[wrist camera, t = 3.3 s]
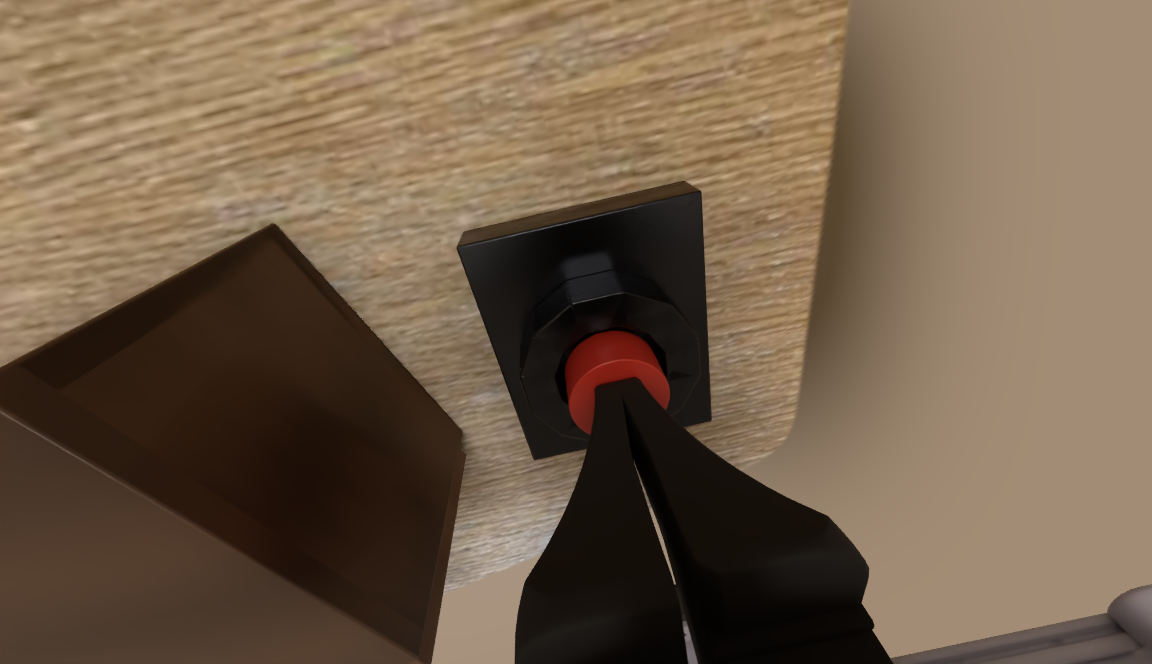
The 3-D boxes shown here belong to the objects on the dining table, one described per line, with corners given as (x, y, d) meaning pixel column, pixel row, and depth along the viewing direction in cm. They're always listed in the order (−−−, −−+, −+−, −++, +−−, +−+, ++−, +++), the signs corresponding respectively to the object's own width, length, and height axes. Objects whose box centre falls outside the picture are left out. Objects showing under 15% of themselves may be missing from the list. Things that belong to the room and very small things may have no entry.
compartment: (462, 431, 19) (419, 659, 12) (229, 539, 21) (61, 794, 14) (273, 222, 14) (-40, 388, 6) (-13, 393, 16) (-513, 675, 8)
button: (659, 394, 15) (674, 428, 14) (574, 414, 15) (579, 449, 14) (650, 320, 14) (665, 349, 12) (555, 342, 14) (558, 373, 12)
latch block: (698, 396, 20) (729, 452, 17) (533, 433, 20) (534, 495, 17) (684, 179, 15) (725, 203, 12) (462, 231, 15) (446, 267, 12)
